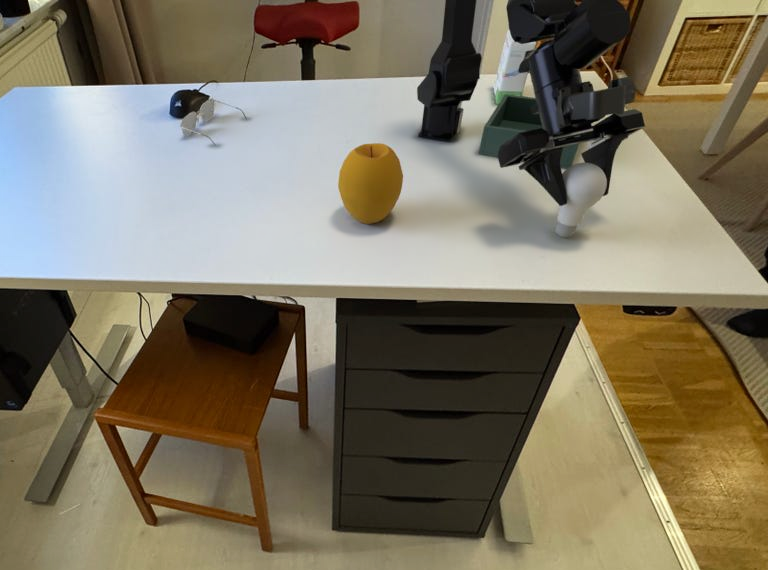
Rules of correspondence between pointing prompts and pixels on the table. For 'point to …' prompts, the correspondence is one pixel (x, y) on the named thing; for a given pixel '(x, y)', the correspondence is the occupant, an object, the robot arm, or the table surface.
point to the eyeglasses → (190, 120)
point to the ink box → (511, 69)
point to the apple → (370, 182)
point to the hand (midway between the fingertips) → (583, 200)
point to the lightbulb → (579, 195)
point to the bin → (516, 127)
